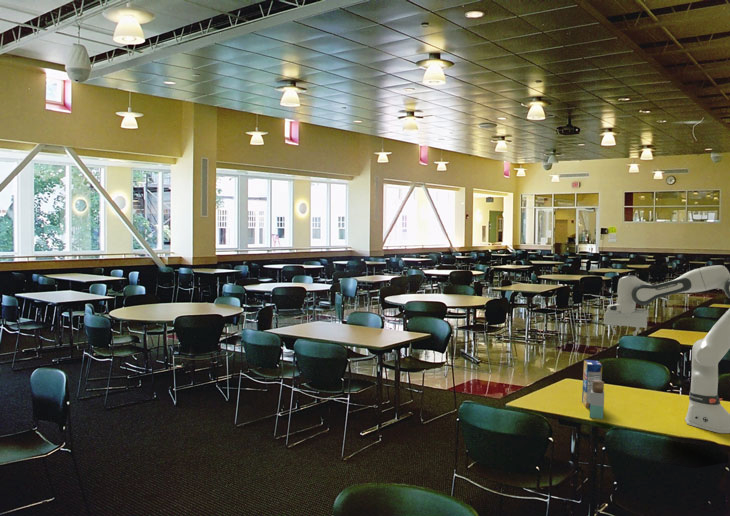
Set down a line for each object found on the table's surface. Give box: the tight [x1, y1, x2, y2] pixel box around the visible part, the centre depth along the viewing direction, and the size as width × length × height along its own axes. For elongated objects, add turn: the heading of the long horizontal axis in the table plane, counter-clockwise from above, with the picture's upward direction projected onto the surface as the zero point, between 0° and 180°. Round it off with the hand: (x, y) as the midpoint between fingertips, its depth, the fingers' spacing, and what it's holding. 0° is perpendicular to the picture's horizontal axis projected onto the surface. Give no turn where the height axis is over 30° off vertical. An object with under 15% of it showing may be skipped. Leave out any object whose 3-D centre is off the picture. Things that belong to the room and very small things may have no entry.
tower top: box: [590, 390, 605, 407], centre depth 297 cm, size 6×6×6 cm
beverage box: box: [581, 359, 603, 409], centre depth 316 cm, size 7×11×22 cm, turn 171°
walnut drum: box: [592, 380, 605, 393], centre depth 297 cm, size 5×5×5 cm
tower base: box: [589, 405, 605, 420], centre depth 297 cm, size 6×6×6 cm
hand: (624, 334), depth 313 cm, fingers open, 8 cm apart
